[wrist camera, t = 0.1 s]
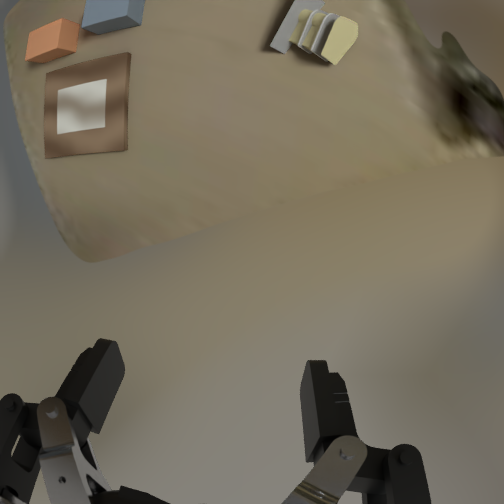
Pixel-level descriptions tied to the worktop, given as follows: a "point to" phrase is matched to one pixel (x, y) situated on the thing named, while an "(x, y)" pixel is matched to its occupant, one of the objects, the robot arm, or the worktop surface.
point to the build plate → (87, 107)
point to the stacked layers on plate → (316, 31)
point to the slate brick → (112, 15)
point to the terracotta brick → (52, 41)
